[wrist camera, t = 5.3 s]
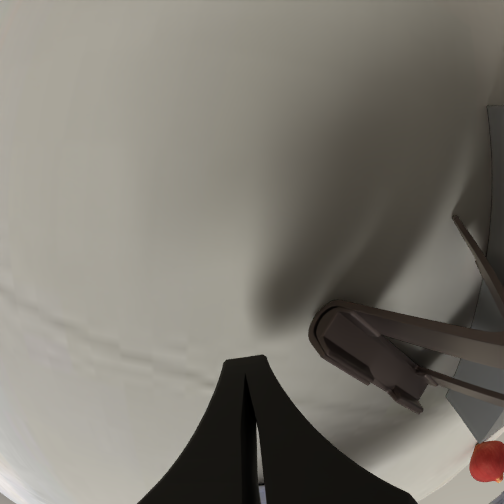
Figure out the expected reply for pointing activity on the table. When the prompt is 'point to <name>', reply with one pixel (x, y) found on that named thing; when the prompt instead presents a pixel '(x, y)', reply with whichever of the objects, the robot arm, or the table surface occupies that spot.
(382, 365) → the portable electronic device stand
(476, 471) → the onion
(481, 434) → the charging dock
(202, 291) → the table surface
